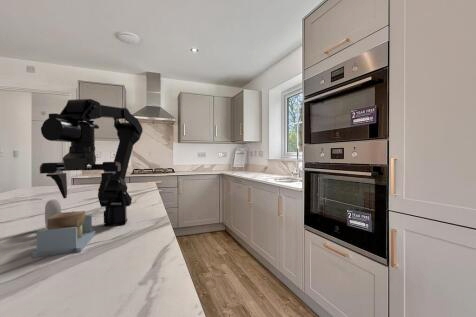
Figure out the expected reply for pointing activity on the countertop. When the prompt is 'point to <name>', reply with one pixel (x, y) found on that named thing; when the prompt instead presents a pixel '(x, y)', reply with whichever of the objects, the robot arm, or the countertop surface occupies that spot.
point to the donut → (51, 209)
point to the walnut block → (66, 220)
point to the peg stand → (64, 239)
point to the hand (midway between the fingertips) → (83, 197)
